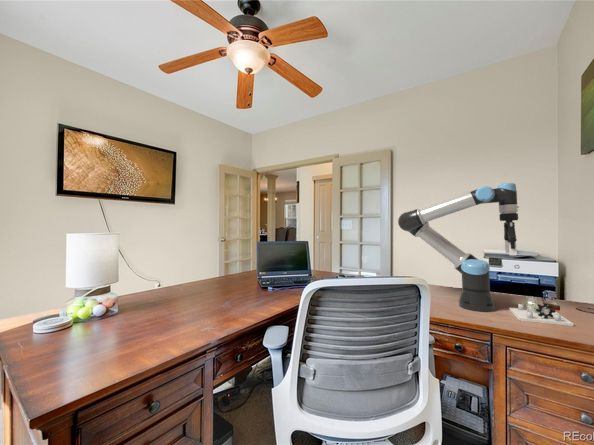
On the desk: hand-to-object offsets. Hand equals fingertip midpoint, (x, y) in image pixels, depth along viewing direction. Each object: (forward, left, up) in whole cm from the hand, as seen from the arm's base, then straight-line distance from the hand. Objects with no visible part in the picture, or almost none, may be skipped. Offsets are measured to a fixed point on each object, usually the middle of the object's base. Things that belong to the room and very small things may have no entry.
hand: (510, 254), depth 135 cm
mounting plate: (+5, -18, -26) cm, 32 cm away
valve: (+5, -17, -25) cm, 31 cm away
